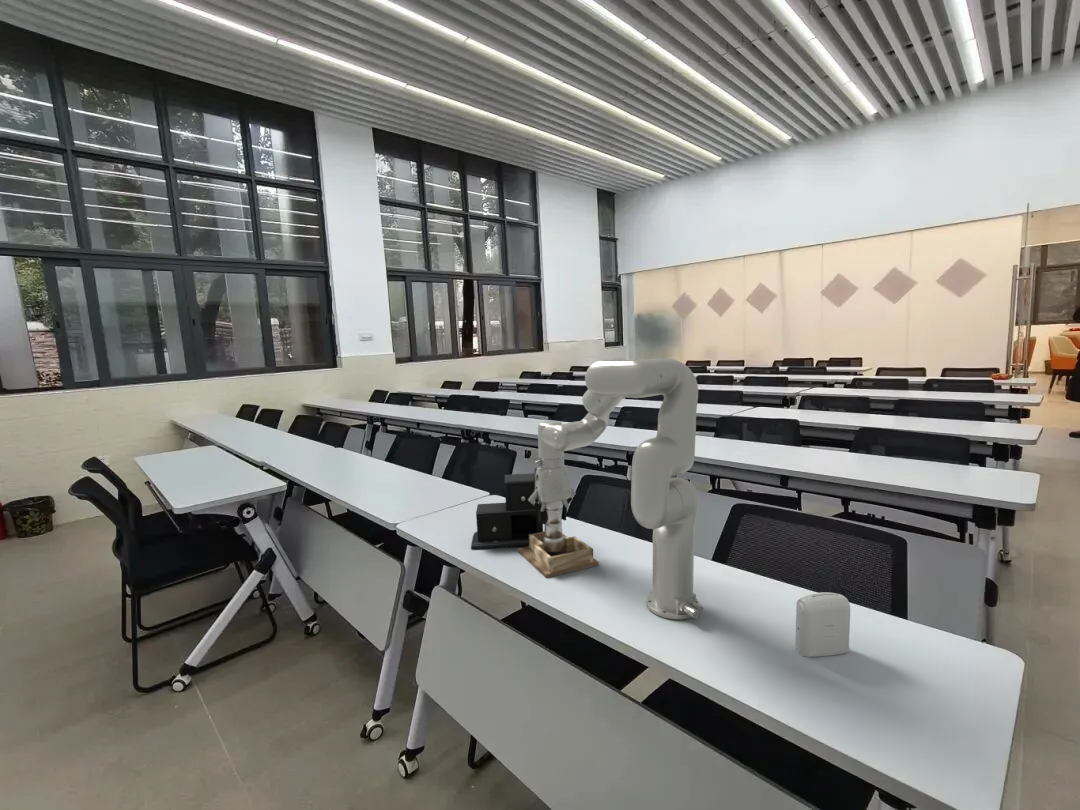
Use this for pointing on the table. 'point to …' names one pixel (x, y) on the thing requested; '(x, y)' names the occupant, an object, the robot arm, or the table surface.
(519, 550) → the keyhole plate
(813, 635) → the photo printer
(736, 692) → the table surface
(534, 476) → the black drawer cabinet
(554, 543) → the plastic bottle
